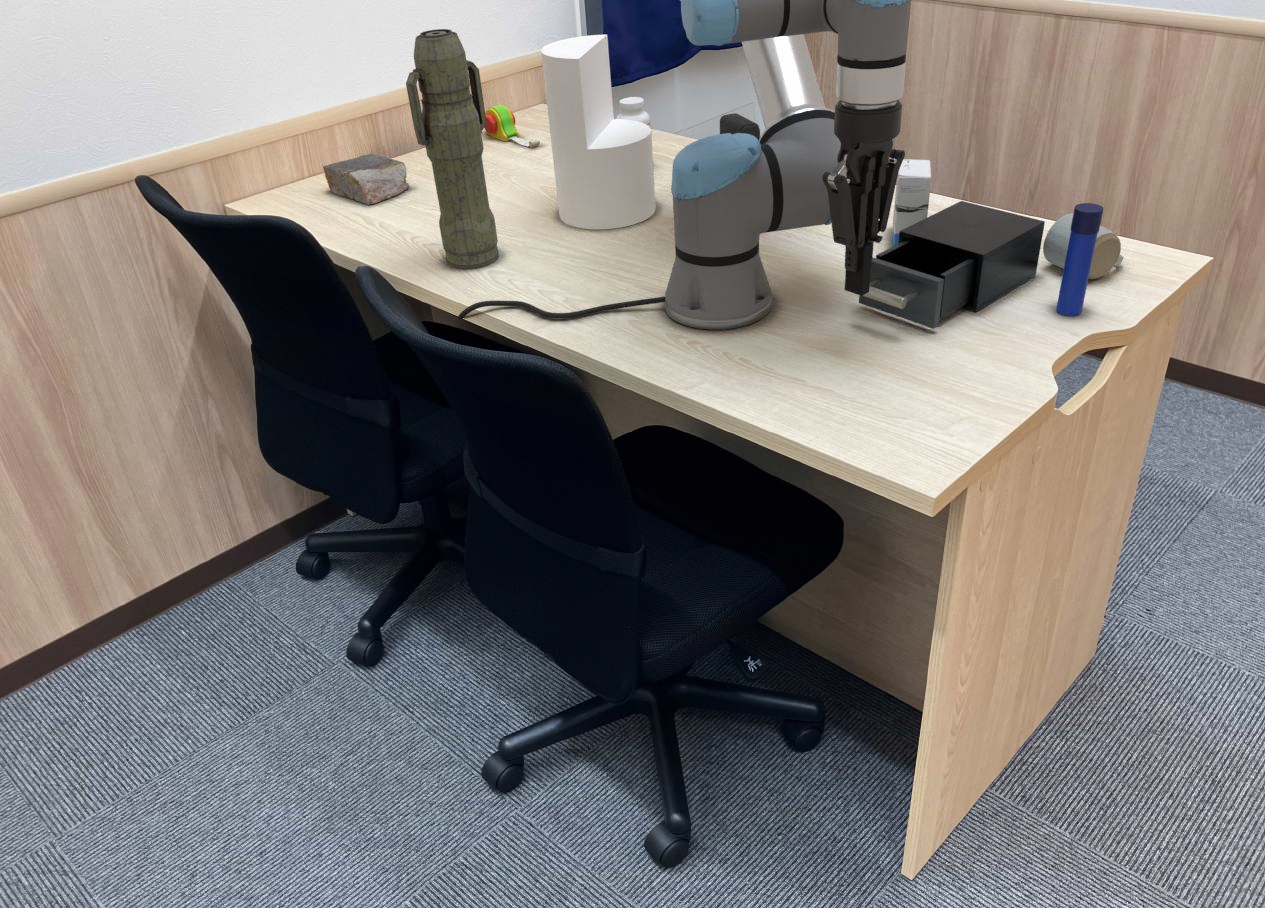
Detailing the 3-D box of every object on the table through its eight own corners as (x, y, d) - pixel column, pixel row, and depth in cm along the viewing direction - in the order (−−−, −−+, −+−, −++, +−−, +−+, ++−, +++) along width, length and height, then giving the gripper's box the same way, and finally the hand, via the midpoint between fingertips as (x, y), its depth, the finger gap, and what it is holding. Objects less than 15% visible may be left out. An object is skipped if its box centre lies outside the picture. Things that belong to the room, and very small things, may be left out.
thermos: (517, 252, 165) (486, 26, 145) (463, 276, 158) (422, 43, 138) (482, 241, 170) (448, 22, 151) (428, 264, 163) (384, 37, 144)
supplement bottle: (615, 164, 199) (610, 98, 192) (646, 159, 201) (642, 93, 193) (624, 174, 194) (620, 106, 187) (657, 168, 195) (653, 101, 188)
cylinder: (546, 228, 173) (526, 59, 158) (574, 193, 187) (558, 35, 171) (643, 230, 169) (632, 57, 154) (664, 195, 183) (656, 33, 167)
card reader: (763, 210, 173) (763, 123, 165) (742, 215, 172) (742, 127, 164) (739, 195, 180) (738, 110, 172) (719, 199, 179) (717, 114, 171)
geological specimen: (367, 151, 201) (410, 160, 192) (373, 181, 204) (416, 191, 195) (320, 164, 195) (362, 174, 185) (328, 195, 198) (369, 206, 188)
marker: (1074, 318, 133) (1095, 214, 125) (1050, 311, 135) (1069, 208, 127) (1087, 310, 135) (1108, 206, 127) (1063, 303, 137) (1083, 201, 129)
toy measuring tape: (498, 128, 227) (494, 98, 223) (548, 144, 214) (544, 112, 211) (474, 134, 224) (469, 104, 220) (524, 151, 211) (520, 119, 207)
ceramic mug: (1080, 287, 140) (1091, 235, 136) (1037, 267, 147) (1047, 217, 142) (1135, 271, 144) (1148, 220, 140) (1091, 252, 150) (1102, 203, 146)
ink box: (925, 250, 154) (932, 176, 148) (892, 250, 155) (898, 176, 149) (923, 230, 161) (930, 157, 155) (891, 229, 162) (897, 158, 156)
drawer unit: (976, 312, 136) (984, 255, 132) (894, 286, 145) (899, 231, 140) (1035, 276, 144) (1045, 221, 140) (954, 253, 153) (961, 200, 148)
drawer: (914, 340, 129) (919, 293, 125) (839, 313, 137) (841, 267, 133) (993, 293, 139) (1000, 247, 135) (919, 270, 147) (923, 226, 143)
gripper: (876, 83, 119) (864, 267, 132) (805, 108, 112) (800, 299, 126) (930, 92, 114) (912, 282, 128) (859, 119, 108) (848, 317, 121)
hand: (856, 290), depth 127 cm, fingers closed
